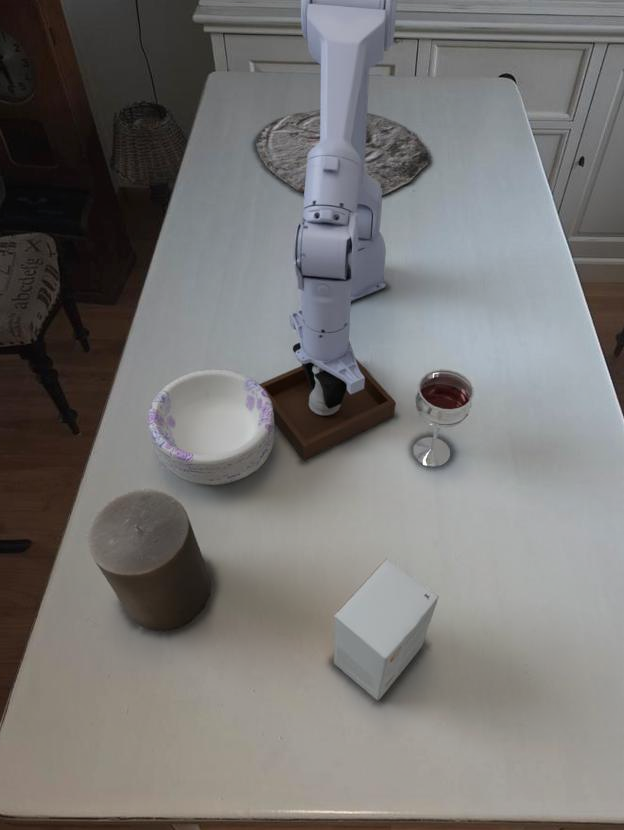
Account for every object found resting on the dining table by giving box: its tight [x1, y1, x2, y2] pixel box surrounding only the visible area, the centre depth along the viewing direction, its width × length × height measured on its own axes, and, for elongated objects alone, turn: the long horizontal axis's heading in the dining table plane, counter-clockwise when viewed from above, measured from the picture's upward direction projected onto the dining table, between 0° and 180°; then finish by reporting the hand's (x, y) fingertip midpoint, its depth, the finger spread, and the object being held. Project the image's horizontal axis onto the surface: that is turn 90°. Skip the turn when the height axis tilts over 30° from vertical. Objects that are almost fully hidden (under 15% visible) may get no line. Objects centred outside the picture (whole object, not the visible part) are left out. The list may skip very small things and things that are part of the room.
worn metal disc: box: [254, 109, 430, 196], centre depth 127 cm, size 33×35×1 cm
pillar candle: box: [85, 488, 212, 632], centre depth 65 cm, size 10×10×15 cm
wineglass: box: [412, 369, 475, 467], centre depth 79 cm, size 7×7×12 cm
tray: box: [258, 357, 397, 461], centre depth 87 cm, size 15×13×3 cm
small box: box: [333, 558, 440, 701], centre depth 63 cm, size 8×6×13 cm
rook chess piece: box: [309, 364, 341, 416], centre depth 84 cm, size 4×4×8 cm
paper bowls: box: [147, 368, 276, 486], centre depth 80 cm, size 15×15×8 cm
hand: (325, 395), depth 86 cm, fingers closed on rook chess piece, 3 cm apart
